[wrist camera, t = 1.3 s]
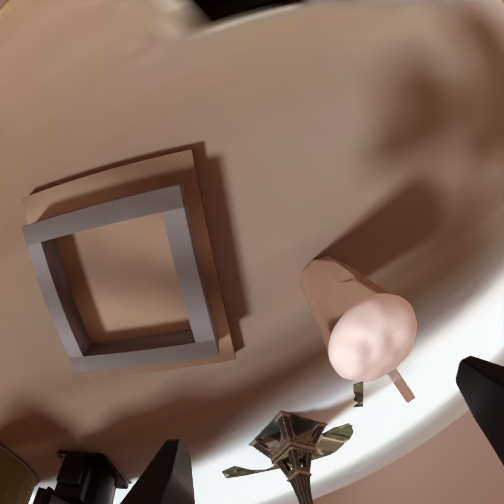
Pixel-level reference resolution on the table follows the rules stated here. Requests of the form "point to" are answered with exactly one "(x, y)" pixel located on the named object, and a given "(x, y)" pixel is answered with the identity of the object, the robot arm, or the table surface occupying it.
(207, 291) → the frame
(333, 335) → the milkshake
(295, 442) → the eiffel tower figurine
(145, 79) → the table surface
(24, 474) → the canister
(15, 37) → the table surface
